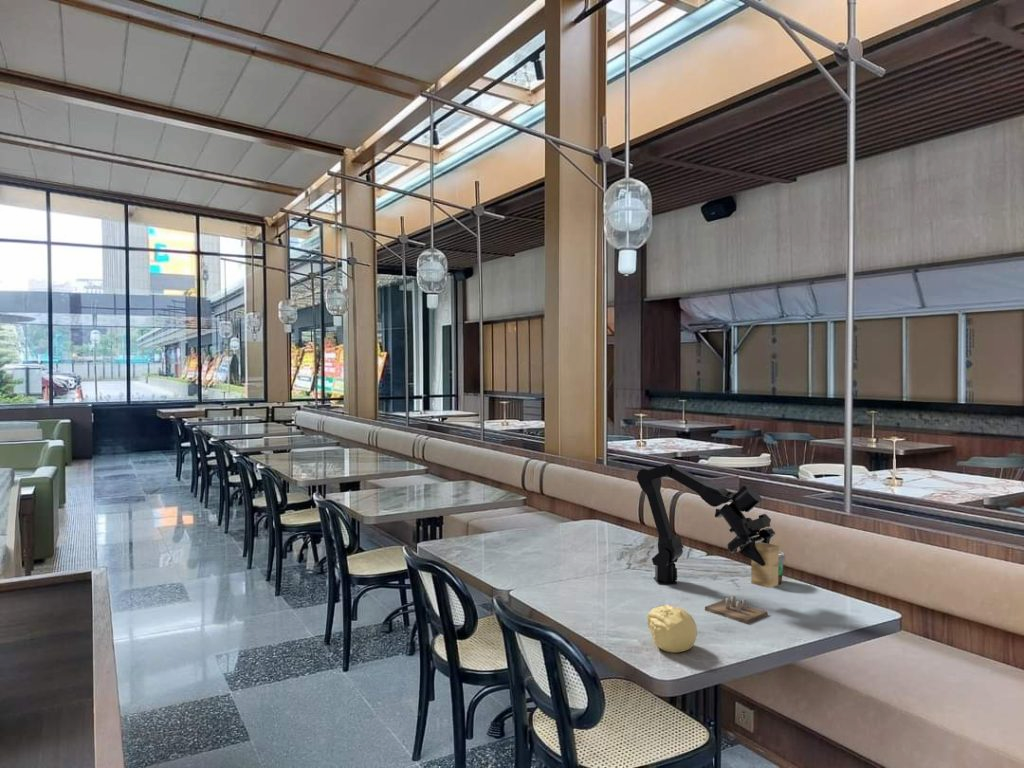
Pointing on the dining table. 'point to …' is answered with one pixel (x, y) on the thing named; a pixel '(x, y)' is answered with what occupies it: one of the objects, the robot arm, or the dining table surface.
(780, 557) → the food container
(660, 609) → the sculpture
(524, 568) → the dining table surface
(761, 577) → the oak block
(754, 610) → the peg base
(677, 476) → the robot arm
